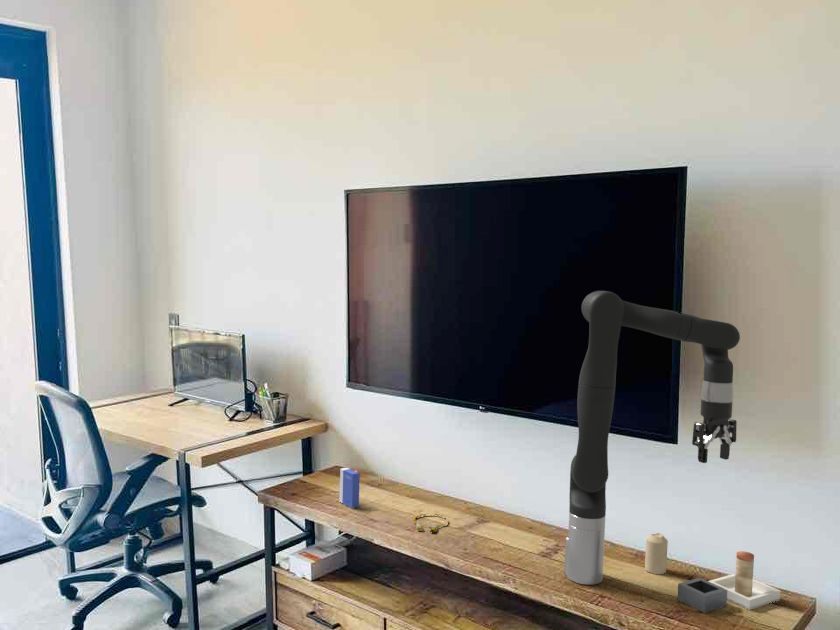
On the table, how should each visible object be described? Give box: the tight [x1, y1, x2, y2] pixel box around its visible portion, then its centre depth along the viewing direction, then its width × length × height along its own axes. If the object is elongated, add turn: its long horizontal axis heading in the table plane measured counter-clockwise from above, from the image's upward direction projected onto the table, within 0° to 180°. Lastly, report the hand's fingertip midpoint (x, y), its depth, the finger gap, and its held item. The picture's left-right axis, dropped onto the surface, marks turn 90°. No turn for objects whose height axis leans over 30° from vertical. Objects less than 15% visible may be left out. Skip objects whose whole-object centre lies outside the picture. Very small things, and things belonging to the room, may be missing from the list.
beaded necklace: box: [413, 513, 443, 534], centre depth 228 cm, size 12×16×2 cm
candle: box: [644, 532, 669, 575], centre depth 197 cm, size 6×6×10 cm
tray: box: [708, 572, 781, 611], centre depth 183 cm, size 12×12×2 cm
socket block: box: [676, 577, 728, 614], centre depth 178 cm, size 8×8×4 cm
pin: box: [734, 550, 755, 597], centre depth 182 cm, size 4×4×10 cm
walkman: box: [338, 467, 361, 509], centre depth 244 cm, size 8×3×12 cm, turn 39°
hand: (713, 460), depth 189 cm, fingers open, 8 cm apart
